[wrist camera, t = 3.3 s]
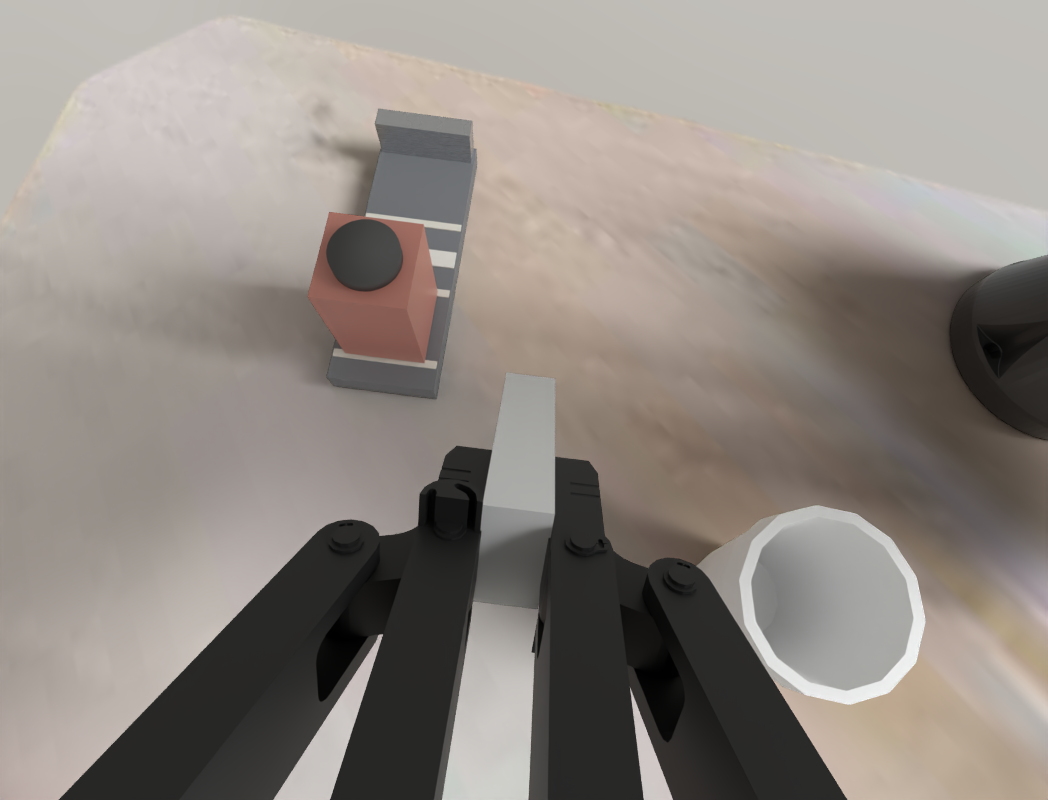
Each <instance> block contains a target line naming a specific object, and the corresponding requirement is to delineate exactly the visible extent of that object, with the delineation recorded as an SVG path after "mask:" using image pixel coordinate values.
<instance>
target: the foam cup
mask: <svg viewBox="0 0 1048 800" xmlns="http://www.w3.org/2000/svg"><path fill="white" fill-rule="evenodd" d="M696 567H698V568H699V569H701V570H702V571H703V572H704V573H705V574H706V576H707V577H708V578H709V579H710V580H711V582H712V584H713V585H714V587H715V588H716V590H717V592H718V593H719V595H720V597H721V598H722V600H723V601H724V603H725V605H726V606H727V608H728V609H729V611H730V613H731V614H732V616H733V617H734V619H735V621H736V622H737V624H738V625H739V627H740V629H741V630H742V632H743V633H744V635H745V637H746V638H747V640H748V641H749V643H750V645H751V646H752V648H753V649H754V651H755V653H756V654H757V656H758V657H759V659H760V661H761V662H762V664H763V665H764V667H765V669H766V670H767V672H768V673H769V675H770V677H771V678H772V679H774V680H775V681H776V682H777V683H779V684H780V685H781V686H783V687H785V688H788V689H791V690H793V691H796V692H799V693H801V694H804V695H808V696H812V697H817V698H821V699H825V700H830V701H834V702H839V703H843V704H848V705H850V704H854V703H857V702H860V701H864V700H867V699H870V698H874V697H877V696H880V695H884V694H887V693H889V692H890V691H891V690H892V689H893V688H894V687H895V686H896V684H897V683H898V682H899V681H900V680H901V679H902V678H903V677H904V676H905V674H906V673H907V672H908V671H909V670H910V669H911V668H912V667H913V665H914V664H915V663H916V661H917V657H918V652H919V648H920V643H921V639H922V635H923V630H924V626H925V621H926V620H925V615H924V610H923V606H922V601H921V596H920V591H919V586H918V581H917V577H916V575H915V574H914V572H913V571H912V569H911V568H910V566H909V565H908V563H907V561H906V560H905V558H904V557H903V555H902V554H901V552H900V551H899V549H898V548H897V546H896V545H895V543H894V542H893V540H892V539H891V538H890V537H888V536H887V535H886V534H884V533H883V532H881V531H880V530H879V529H877V528H876V527H874V526H873V525H871V524H870V523H869V522H867V521H866V520H864V519H863V518H862V517H860V516H859V515H857V514H856V513H851V512H847V511H842V510H837V509H833V508H828V507H824V506H819V505H814V506H810V507H806V508H802V509H798V510H794V511H790V512H786V513H782V514H778V515H774V516H770V517H766V518H762V519H760V520H759V521H758V522H757V523H756V524H754V525H753V526H752V527H751V528H750V529H749V530H748V531H746V532H745V533H743V534H741V535H740V536H738V537H736V538H735V539H733V540H731V541H730V542H728V543H726V544H724V545H723V546H721V547H719V548H718V549H716V550H714V551H713V552H711V553H710V554H708V555H707V556H706V557H705V558H704V559H703V560H702V561H701V562H700V563H699V564H698V565H697V566H696Z"/></svg>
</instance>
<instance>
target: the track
mask: <svg viewBox="0 0 1048 800" xmlns="http://www.w3.org/2000/svg"><path fill="white" fill-rule="evenodd" d="M375 126H376V130H377V134H378V138H379V141H380V145H381V150H380V154H379V158H378V162H377V167H376V171H375V175H374V179H373V183H372V188H371V192H370V196H369V200H368V204H367V209H366V213H365V217H372V218H380V219H388V220H395V221H403V222H411V223H418V224H424V228H425V233H426V238H427V242H428V247H429V252H430V257H431V262H432V267H433V272H434V276H435V281H436V286H437V291H438V293H437V298H436V304H435V309H434V315H433V320H432V325H431V331H430V336H429V342H428V347H427V353H426V358H425V363H419V362H411V361H403V360H395V359H388V358H380V357H372V356H364V355H356V354H349V353H345V352H344V351H343V349H342V348H341V346H340V345H339V343H338V342H337V340H336V339H335V343H334V348H333V352H332V356H331V360H330V364H329V369H328V373H327V378H328V380H329V381H330V382H331V383H332V384H333V386H338V387H346V388H354V389H362V390H370V391H378V392H385V393H393V394H401V395H409V396H417V397H425V398H432V399H436V398H437V392H438V387H439V381H440V375H441V369H442V364H443V358H444V352H445V346H446V341H447V335H448V329H449V324H450V318H451V312H452V306H453V301H454V295H455V289H456V283H457V278H458V272H459V266H460V260H461V255H462V249H463V243H464V238H465V232H466V226H467V220H468V215H469V209H470V203H471V197H472V192H473V186H474V180H475V174H476V169H477V152H476V149H474V141H473V122H472V121H469V120H462V119H454V118H446V117H439V116H431V115H423V114H416V113H408V112H400V111H393V110H385V109H378V113H377V117H376V121H375Z"/></svg>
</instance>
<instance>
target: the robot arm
mask: <svg viewBox="0 0 1048 800" xmlns="http://www.w3.org/2000/svg"><path fill="white" fill-rule="evenodd" d="M951 345H952V350H953V355H954V358H955V361H956V364H957V366H958V369H959V371H960V373H961V375H962V377H963V378H964V380H965V382H966V383H967V385H968V386H969V388H970V389H971V391H972V392H973V393H974V394H975V396H976V397H977V398H978V399H979V400H980V401H981V402H982V404H984V405H985V406H986V407H987V408H988V409H989V410H990V411H991V412H992V413H993V414H995V415H996V416H997V417H999V418H1000V419H1001V420H1003V421H1004V422H1006V423H1007V424H1009V425H1011V426H1012V427H1014V428H1016V429H1018V430H1020V431H1022V432H1024V433H1027V434H1029V435H1032V436H1035V437H1038V438H1042V439H1046V440H1048V255H1045V256H1041V257H1038V258H1034V259H1030V260H1026V261H1021V262H1017V263H1013V264H1010V265H1008V266H1005V267H1003V268H1001V269H999V270H997V271H995V272H994V273H992V274H990V275H989V276H987V277H985V278H984V279H982V280H981V281H979V282H977V283H976V284H975V285H973V286H972V287H971V288H969V289H968V290H967V291H966V292H965V293H964V295H963V296H962V297H961V299H960V300H959V302H958V304H957V306H956V308H955V311H954V313H953V317H952V322H951ZM473 601H475V602H483V603H491V604H500V605H508V606H516V607H524V608H532V609H538V606H539V614H538V619H537V625H536V630H535V636H534V642H533V647H532V652H533V653H535V661H534V685H533V709H532V733H531V756H530V780H529V800H644V799H643V791H642V782H641V774H640V766H639V758H638V750H637V742H636V734H635V725H634V717H633V709H632V701H631V693H630V688H631V690H632V693H633V695H634V698H635V701H636V703H637V706H638V709H639V711H640V714H641V716H642V719H643V722H644V724H645V727H646V730H647V732H648V735H649V737H650V740H651V743H652V745H653V748H654V751H655V753H656V756H657V758H658V761H659V764H660V766H661V769H662V771H663V774H664V777H665V779H666V782H667V785H668V787H669V790H670V792H671V795H672V798H673V800H847V798H846V797H845V795H844V794H843V792H842V790H841V789H840V787H839V786H838V784H837V782H836V781H835V779H834V778H833V776H832V774H831V773H830V771H829V770H828V768H827V766H826V765H825V763H824V762H823V760H822V758H821V757H820V755H819V754H818V752H817V750H816V749H815V747H814V746H813V744H812V742H811V741H810V739H809V738H808V736H807V734H806V733H805V731H804V730H803V728H802V726H801V725H800V723H799V722H798V720H797V718H796V717H795V715H794V714H793V712H792V710H791V709H790V707H789V706H788V704H787V702H786V701H785V699H784V697H783V696H782V694H781V693H780V691H779V689H778V688H777V686H776V685H775V683H774V681H773V680H772V678H771V677H770V675H769V673H768V672H767V670H766V669H765V667H764V665H763V664H762V662H761V661H760V659H759V657H758V656H757V654H756V653H755V651H754V649H753V648H752V646H751V645H750V643H749V641H748V640H747V638H746V637H745V635H744V633H743V632H742V630H741V629H740V627H739V625H738V624H737V622H736V621H735V619H734V617H733V616H732V614H731V613H730V611H729V609H728V608H727V606H726V605H725V603H724V601H723V600H722V598H721V597H720V595H719V593H718V592H717V590H716V588H715V587H714V585H713V584H712V582H711V580H710V579H709V578H708V577H707V576H706V574H705V573H704V572H703V571H702V570H701V569H699V568H698V567H696V566H695V565H693V564H692V563H689V562H686V561H684V560H681V559H675V558H664V559H659V560H656V561H655V562H654V563H652V564H651V565H650V567H649V569H648V568H645V567H643V566H640V565H637V564H635V563H632V562H630V561H628V560H626V559H624V558H622V557H621V556H619V555H618V554H616V553H615V552H614V551H613V548H612V546H611V543H610V541H609V540H608V539H607V538H606V537H605V534H604V525H603V516H602V507H601V499H600V490H599V481H598V473H597V472H596V470H595V469H594V468H593V466H592V465H591V464H590V462H589V461H584V460H576V459H568V458H560V457H555V378H547V377H539V376H531V375H524V374H516V373H508V372H507V373H506V378H505V384H504V389H503V395H502V400H501V406H500V411H499V417H498V422H497V428H496V433H495V438H494V444H493V449H492V450H486V449H478V448H470V447H462V446H456V447H455V448H454V449H452V450H451V451H450V452H449V453H448V454H447V455H446V456H445V459H444V462H443V466H442V470H441V472H440V475H439V480H438V481H435V482H432V483H431V484H429V485H427V486H426V487H424V489H423V490H422V491H421V493H420V498H419V522H418V526H417V527H416V528H414V529H412V530H410V531H407V532H404V533H400V534H395V535H386V536H379V533H378V532H377V530H376V529H375V528H374V527H373V526H372V525H370V524H368V523H366V522H364V521H358V520H342V521H337V522H334V523H331V524H328V525H326V526H325V527H323V528H322V529H321V530H319V531H318V532H317V533H316V534H315V535H314V536H313V537H312V538H311V539H310V540H309V541H308V542H307V543H306V544H305V545H304V546H303V547H302V548H301V549H300V550H299V551H298V553H297V554H296V555H295V556H294V557H293V558H292V559H291V560H290V561H289V562H288V563H287V564H286V565H285V566H284V567H283V568H282V569H281V570H280V571H279V572H278V573H277V574H276V575H275V576H274V577H273V578H272V579H271V580H270V582H269V583H268V584H267V585H266V586H265V587H264V588H263V589H262V590H261V591H260V592H259V593H258V594H257V595H256V596H255V597H254V598H253V599H252V600H251V601H250V602H249V603H248V604H247V605H246V606H245V607H244V608H243V609H242V611H241V612H240V613H239V614H238V615H237V616H236V617H235V618H234V619H233V620H232V621H231V622H230V623H229V624H228V625H227V626H226V627H225V628H224V629H223V630H222V631H221V632H220V633H219V634H218V635H217V636H216V637H215V638H214V640H213V641H212V642H211V643H210V644H209V645H208V646H207V647H206V648H205V649H204V650H203V651H202V652H201V653H200V654H199V655H198V656H197V657H196V658H195V659H194V660H193V661H192V662H191V663H190V664H189V665H188V666H187V667H186V669H185V670H184V671H183V672H182V673H181V674H180V675H179V676H178V677H177V678H176V679H175V680H174V681H173V682H172V683H171V684H170V685H169V686H168V687H167V688H166V689H165V690H164V691H163V692H162V693H161V694H160V695H159V696H158V698H157V699H156V700H155V701H154V702H153V703H152V704H151V705H150V706H149V707H148V708H147V709H146V710H145V711H144V712H143V713H142V714H141V715H140V716H139V717H138V718H137V719H136V720H135V721H134V722H133V723H132V724H131V725H130V727H129V728H128V729H127V730H126V731H125V732H124V733H123V734H122V735H121V736H120V737H119V738H118V739H117V740H116V741H115V742H114V743H113V744H112V745H111V746H110V747H109V748H108V749H107V750H106V751H105V752H104V753H103V754H102V756H101V757H100V758H99V759H98V760H97V761H96V762H95V763H94V764H93V765H92V766H91V767H90V768H89V769H88V770H87V771H86V772H85V773H84V774H83V775H82V776H81V777H80V778H79V779H78V780H77V781H76V782H75V783H74V785H73V786H72V787H71V788H70V789H69V790H68V791H67V792H66V793H65V794H64V795H63V796H62V797H61V798H60V799H59V800H273V799H274V798H275V796H276V795H277V793H278V791H279V790H280V788H281V787H282V785H283V784H284V782H285V781H286V779H287V778H288V776H289V775H290V773H291V771H292V770H293V768H294V767H295V765H296V764H297V762H298V761H299V759H300V758H301V756H302V754H303V753H304V751H305V750H306V748H307V747H308V745H309V744H310V742H311V741H312V739H313V738H314V736H315V734H316V733H317V731H318V730H319V728H320V727H321V725H322V724H323V722H324V721H325V719H326V717H327V716H328V714H329V713H330V711H331V710H332V708H333V707H334V705H335V704H336V702H337V701H338V699H339V697H340V696H341V694H342V693H343V691H344V690H345V688H346V687H347V685H348V684H349V682H350V681H351V679H352V677H353V676H354V674H355V673H356V671H357V670H358V668H359V667H360V665H361V664H362V662H363V660H364V659H365V657H366V656H367V654H368V653H369V651H370V650H371V648H372V647H373V645H374V644H375V642H376V640H377V637H378V635H379V634H383V637H382V640H381V643H380V646H379V649H378V653H377V656H376V659H375V662H374V665H373V668H372V671H371V674H370V677H369V681H368V684H367V687H366V690H365V693H364V696H363V699H362V702H361V705H360V709H359V712H358V715H357V718H356V721H355V724H354V727H353V730H352V733H351V737H350V740H349V743H348V746H347V749H346V752H345V755H344V758H343V762H342V765H341V768H340V771H339V774H338V777H337V780H336V783H335V786H334V790H333V793H332V796H331V799H330V800H442V795H443V789H444V783H445V777H446V770H447V764H448V758H449V752H450V746H451V739H452V733H453V727H454V721H455V715H456V708H457V702H458V696H459V690H460V684H461V677H462V671H463V665H464V659H465V653H466V646H467V640H468V634H469V628H470V622H471V613H472V604H473Z"/></svg>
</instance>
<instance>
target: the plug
mask: <svg viewBox="0 0 1048 800" xmlns="http://www.w3.org/2000/svg"><path fill="white" fill-rule="evenodd" d="M437 293H438V291H437V286H436V281H435V276H434V272H433V267H432V262H431V257H430V252H429V247H428V242H427V238H426V233H425V228H424V224H418V223H411V222H403V221H395V220H388V219H380V218H372V217H364V216H357V215H349V214H341V213H333V212H329V216H328V219H327V223H326V227H325V231H324V235H323V239H322V243H321V246H320V250H319V254H318V258H317V262H316V266H315V270H314V273H313V277H312V281H311V285H310V289H309V293H308V296H307V297H308V298H309V300H310V301H311V303H312V304H313V306H314V307H315V309H316V310H317V312H318V313H319V315H320V316H321V318H322V319H323V321H324V322H325V324H326V325H327V327H328V328H329V330H330V331H331V333H332V334H333V336H334V337H335V339H336V340H337V342H338V343H339V345H340V346H341V348H342V349H343V351H344V352H345V353H349V354H356V355H364V356H372V357H380V358H388V359H395V360H403V361H411V362H419V363H425V358H426V353H427V347H428V342H429V336H430V331H431V325H432V320H433V315H434V309H435V304H436V298H437Z"/></svg>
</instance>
